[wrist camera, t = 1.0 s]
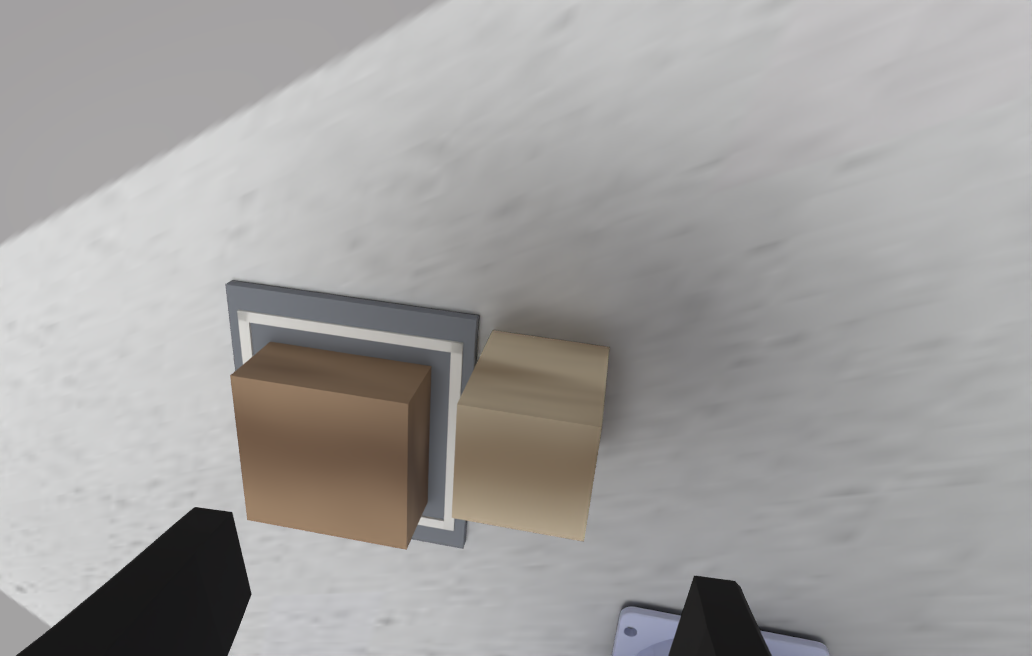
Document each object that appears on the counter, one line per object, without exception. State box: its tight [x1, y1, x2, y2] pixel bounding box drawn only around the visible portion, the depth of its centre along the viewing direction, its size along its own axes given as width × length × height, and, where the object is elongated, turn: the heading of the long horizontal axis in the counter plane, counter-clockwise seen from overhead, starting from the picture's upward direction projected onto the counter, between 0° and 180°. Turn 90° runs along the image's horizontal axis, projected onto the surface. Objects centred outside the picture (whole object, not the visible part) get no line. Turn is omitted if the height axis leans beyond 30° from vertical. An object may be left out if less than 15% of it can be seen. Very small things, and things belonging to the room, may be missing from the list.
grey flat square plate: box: [225, 281, 479, 549], centre depth 25 cm, size 10×9×1 cm
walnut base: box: [230, 342, 431, 550], centre depth 24 cm, size 6×6×3 cm
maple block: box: [452, 330, 609, 541], centre depth 21 cm, size 4×4×5 cm
